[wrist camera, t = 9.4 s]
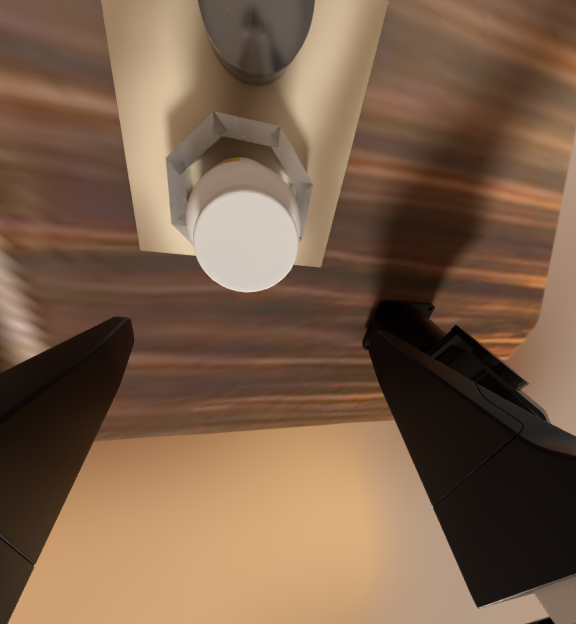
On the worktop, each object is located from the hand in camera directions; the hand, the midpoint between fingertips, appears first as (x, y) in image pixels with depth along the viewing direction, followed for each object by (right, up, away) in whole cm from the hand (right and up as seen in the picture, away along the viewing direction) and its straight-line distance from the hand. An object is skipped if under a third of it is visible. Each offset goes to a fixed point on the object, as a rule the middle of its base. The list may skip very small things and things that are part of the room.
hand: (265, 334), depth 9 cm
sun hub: (-1, +16, +4) cm, 17 cm away
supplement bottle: (-2, +9, +8) cm, 12 cm away
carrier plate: (-2, +13, +7) cm, 14 cm away
